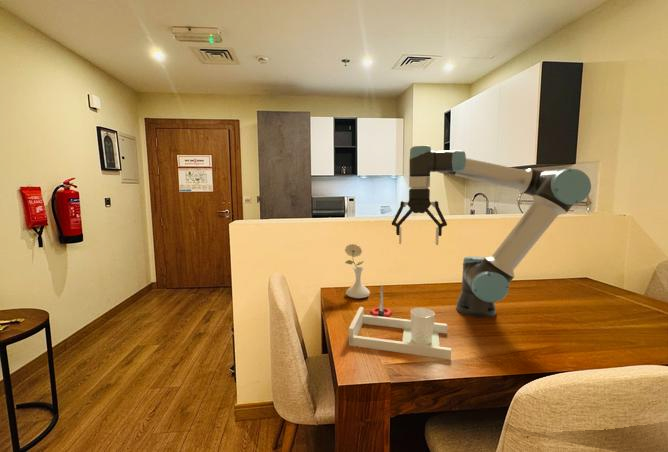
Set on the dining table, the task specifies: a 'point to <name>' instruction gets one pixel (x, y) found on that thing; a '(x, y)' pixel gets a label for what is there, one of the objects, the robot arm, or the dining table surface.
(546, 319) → the dining table surface
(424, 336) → the white cup
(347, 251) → the flower in vase
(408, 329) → the bay
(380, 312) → the red ring on peg
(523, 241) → the robot arm
